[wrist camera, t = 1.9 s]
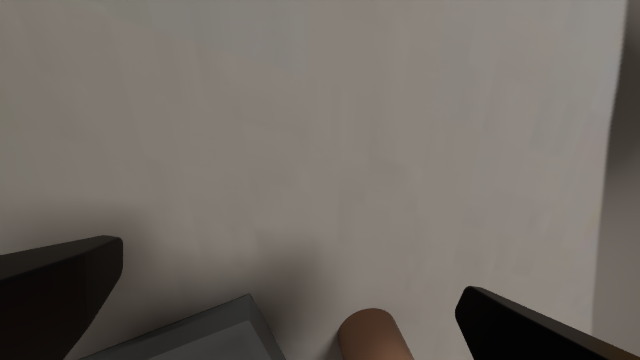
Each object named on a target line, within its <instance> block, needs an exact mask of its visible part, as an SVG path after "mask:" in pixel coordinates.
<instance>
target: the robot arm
mask: <svg viewBox="0 0 640 360" xmlns="http://www.w3.org/2000/svg"><path fill="white" fill-rule="evenodd" d="M122 269H123V241H122V239H121V238H119V237H113V236H106V235H102V236H97V237H92V238H87V239H81V240H76V241H71V242H66V243H61V244H56V245H51V246H45V247H40V248H35V249H30V250H25V251H20V252H15V253H10V254H4V255H0V360H63V359H64V358H65V357H66V355H67V354H68V353H69V352H70V350H71V349H72V348H73V347H74V345H75V344H76V343H77V342H78V340H79V339H80V338H81V336H82V335H83V334H84V332H85V331H86V330H87V328H88V327H89V326H90V324H91V323H92V321H93V320H94V318H95V316H96V315H97V313H98V312H99V310H100V308H101V307H102V305H103V304H104V302H105V300H106V299H107V297H108V296H109V294H110V292H111V291H112V289H113V288H114V286H115V284H116V283H117V281H118V280H119V278H120V276H121V273H122ZM455 317H456V321H457V323H458V325H459V327H460V330H461V332H462V334H463V336H464V338H465V341H466V343H467V345H468V347H469V350H470V352H471V354H472V356H473V358H474V360H640V357H638V356H636V355H634V354H631V353H629V352H627V351H624V350H622V349H620V348H618V347H615V346H613V345H611V344H609V343H606V342H604V341H602V340H599V339H597V338H595V337H593V336H590V335H588V334H586V333H584V332H581V331H579V330H577V329H575V328H572V327H570V326H568V325H565V324H563V323H561V322H559V321H556V320H554V319H552V318H550V317H547V316H545V315H543V314H540V313H538V312H536V311H534V310H531V309H529V308H527V307H525V306H522V305H520V304H518V303H516V302H513V301H511V300H509V299H506V298H504V297H502V296H500V295H497V294H495V293H493V292H491V291H488V290H486V289H484V288H481V287H474V286H468V287H466V288H465V289H464V291H463V293H462V295H461V298H460V300H459V302H458V304H457V306H456V309H455Z"/></svg>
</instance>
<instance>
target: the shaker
mask: <svg viewBox="0 0 640 360" xmlns="http://www.w3.org/2000/svg"><path fill="white" fill-rule="evenodd" d="M338 342H339V346H340V349H341V353H342V357H343V360H414V358H413V356H412V354H411V352H410V350H409V348H408V346H407V344H406V342H405V340H404V338H403V336H402V334H401V332H400V330H399V328H398V326H397V324H396V322H395V320H394V318H393V317H392V316H391V315H390V314H389V313H388V312H386V311H384V310H381V309H375V308H373V309H365V310H361V311H359V312H356V313H354V314H353V315H351V316H350V317H348V318H347V319H346V320H345V321H344V322H343V324H342V325H341V327H340V329H339V332H338Z"/></svg>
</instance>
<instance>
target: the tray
mask: <svg viewBox="0 0 640 360" xmlns="http://www.w3.org/2000/svg"><path fill="white" fill-rule="evenodd" d="M80 360H286V359H285V357H284V355H283V353H282V351H281V350H280V348H279V346H278V344H277V342H276V341H275V339H274V337H273V335H272V333H271V331H270V330H269V328H268V326H267V324H266V322H265V320H264V319H263V317H262V315H261V313H260V311H259V309H258V308H257V306H256V304H255V302H254V300H253V299H252V297H251V295H250V294H248V295H245V296H243V297H240V298H237V299H235V300H232V301H230V302H227V303H225V304H222V305H219V306H217V307H214V308H212V309H209V310H206V311H204V312H201V313H199V314H196V315H194V316H191V317H188V318H186V319H183V320H181V321H178V322H175V323H173V324H170V325H168V326H165V327H163V328H160V329H157V330H155V331H152V332H150V333H147V334H144V335H142V336H139V337H137V338H134V339H131V340H129V341H126V342H124V343H121V344H119V345H116V346H113V347H111V348H108V349H106V350H103V351H100V352H98V353H95V354H93V355H90V356H88V357H85V358H82V359H80Z"/></svg>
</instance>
